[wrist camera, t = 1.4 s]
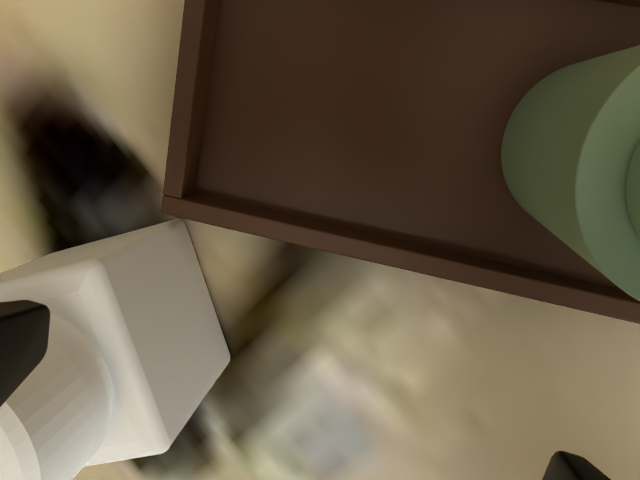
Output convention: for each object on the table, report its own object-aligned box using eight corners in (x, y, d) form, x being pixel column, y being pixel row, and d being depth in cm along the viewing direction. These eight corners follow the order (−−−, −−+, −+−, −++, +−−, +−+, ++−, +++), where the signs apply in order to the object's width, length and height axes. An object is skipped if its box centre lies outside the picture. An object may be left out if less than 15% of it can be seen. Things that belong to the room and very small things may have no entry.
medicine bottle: (104, 386, 26) (-136, 606, 14) (50, 252, 25) (-261, 376, 13) (234, 360, 24) (83, 581, 13) (185, 215, 23) (-33, 318, 12)
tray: (959, 383, 20) (1015, 411, 18) (179, 205, 23) (160, 213, 21) (1144, 70, 17) (1235, 65, 15) (214, -86, 20) (196, -105, 18)
